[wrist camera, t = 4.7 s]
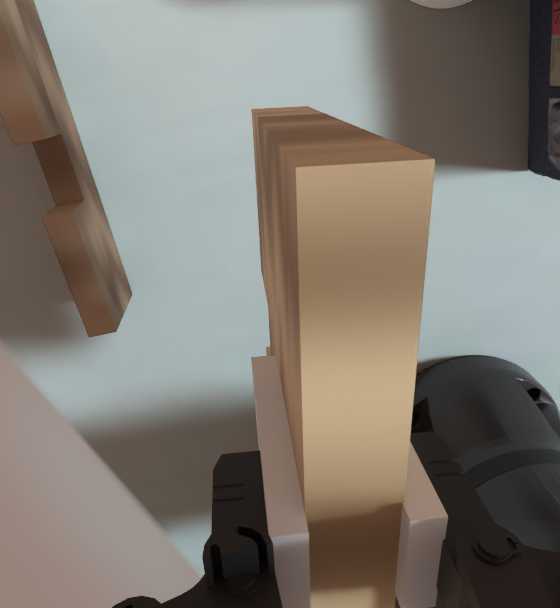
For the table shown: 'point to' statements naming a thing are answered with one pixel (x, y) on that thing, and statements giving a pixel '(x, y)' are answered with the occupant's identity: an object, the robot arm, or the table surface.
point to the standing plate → (60, 169)
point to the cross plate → (344, 332)
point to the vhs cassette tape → (544, 88)
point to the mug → (441, 3)
